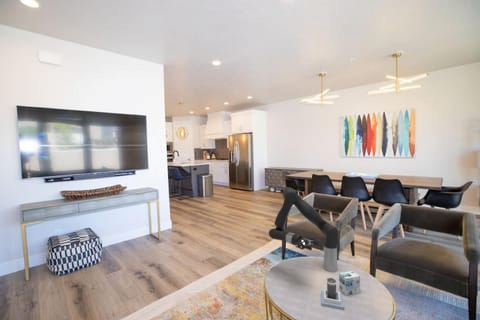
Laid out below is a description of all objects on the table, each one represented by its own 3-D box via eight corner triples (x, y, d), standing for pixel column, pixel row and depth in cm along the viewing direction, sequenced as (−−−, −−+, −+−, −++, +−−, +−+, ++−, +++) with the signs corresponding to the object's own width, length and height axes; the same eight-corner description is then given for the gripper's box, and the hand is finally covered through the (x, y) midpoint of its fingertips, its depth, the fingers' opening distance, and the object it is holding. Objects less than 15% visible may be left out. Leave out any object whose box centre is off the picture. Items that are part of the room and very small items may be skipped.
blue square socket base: (321, 292, 139) (321, 287, 139) (342, 296, 135) (341, 290, 135) (321, 305, 128) (321, 299, 128) (344, 310, 124) (344, 304, 124)
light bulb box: (345, 295, 136) (345, 278, 135) (338, 288, 142) (338, 272, 142) (360, 292, 138) (360, 276, 137) (353, 286, 145) (353, 270, 144)
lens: (327, 294, 135) (326, 277, 134) (336, 296, 133) (335, 278, 133) (327, 300, 130) (326, 282, 129) (336, 302, 128) (336, 283, 128)
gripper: (287, 237, 148) (308, 244, 136) (299, 231, 157) (320, 237, 145) (287, 248, 148) (309, 256, 136) (300, 241, 158) (321, 248, 145)
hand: (315, 246), depth 140 cm, fingers open, 8 cm apart
